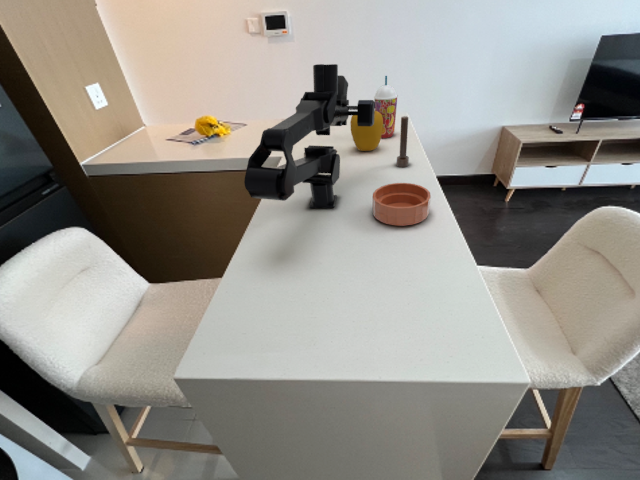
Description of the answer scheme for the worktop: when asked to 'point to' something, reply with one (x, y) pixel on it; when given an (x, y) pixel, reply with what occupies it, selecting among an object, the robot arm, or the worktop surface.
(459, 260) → the worktop surface
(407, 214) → the bowl
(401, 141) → the stick
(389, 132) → the smoothie
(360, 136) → the apple
